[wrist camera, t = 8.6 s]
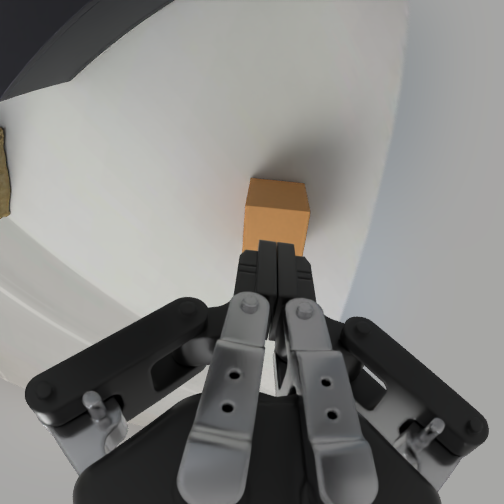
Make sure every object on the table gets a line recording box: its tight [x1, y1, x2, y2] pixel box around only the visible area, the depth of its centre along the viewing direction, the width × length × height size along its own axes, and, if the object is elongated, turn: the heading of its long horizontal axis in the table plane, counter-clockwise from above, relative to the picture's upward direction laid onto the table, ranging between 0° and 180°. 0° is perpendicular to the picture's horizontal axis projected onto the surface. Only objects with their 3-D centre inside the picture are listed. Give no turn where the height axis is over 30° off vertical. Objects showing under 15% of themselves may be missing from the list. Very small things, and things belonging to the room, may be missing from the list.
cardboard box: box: [242, 178, 310, 256], centre depth 26 cm, size 6×5×5 cm
